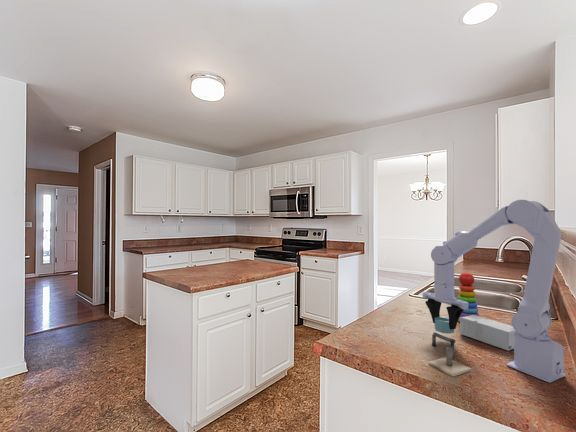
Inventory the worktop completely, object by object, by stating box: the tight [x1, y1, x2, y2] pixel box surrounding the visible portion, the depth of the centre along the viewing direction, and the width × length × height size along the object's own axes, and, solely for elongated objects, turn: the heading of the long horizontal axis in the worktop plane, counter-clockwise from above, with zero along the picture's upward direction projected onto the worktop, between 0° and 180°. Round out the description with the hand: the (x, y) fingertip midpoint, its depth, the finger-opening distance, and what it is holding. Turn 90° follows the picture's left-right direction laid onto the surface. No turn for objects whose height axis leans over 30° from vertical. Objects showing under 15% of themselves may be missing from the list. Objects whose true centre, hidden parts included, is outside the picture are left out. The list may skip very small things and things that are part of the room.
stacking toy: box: [457, 272, 480, 323], centre depth 113 cm, size 8×8×19 cm
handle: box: [431, 332, 456, 361], centre depth 86 cm, size 10×6×4 cm, turn 27°
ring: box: [434, 316, 455, 335], centre depth 95 cm, size 5×5×4 cm
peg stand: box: [428, 346, 472, 377], centre depth 78 cm, size 7×7×5 cm
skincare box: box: [459, 315, 514, 352], centre depth 95 cm, size 8×6×15 cm
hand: (444, 325), depth 95 cm, fingers closed on ring, 5 cm apart
